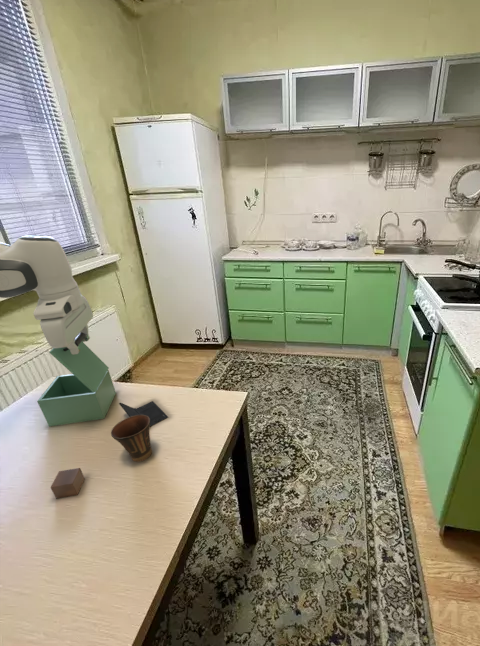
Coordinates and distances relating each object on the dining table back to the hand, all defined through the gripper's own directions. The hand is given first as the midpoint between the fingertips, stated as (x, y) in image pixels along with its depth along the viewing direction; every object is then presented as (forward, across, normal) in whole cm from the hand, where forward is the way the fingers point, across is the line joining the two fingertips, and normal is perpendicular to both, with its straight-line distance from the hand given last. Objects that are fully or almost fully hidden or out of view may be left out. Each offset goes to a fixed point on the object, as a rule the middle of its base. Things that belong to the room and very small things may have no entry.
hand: (81, 346), depth 90 cm
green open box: (+22, 0, -6) cm, 22 cm away
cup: (+22, +22, +14) cm, 34 cm away
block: (+22, +30, +1) cm, 37 cm away
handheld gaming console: (+22, +8, +13) cm, 27 cm away
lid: (+5, 0, -2) cm, 5 cm away
